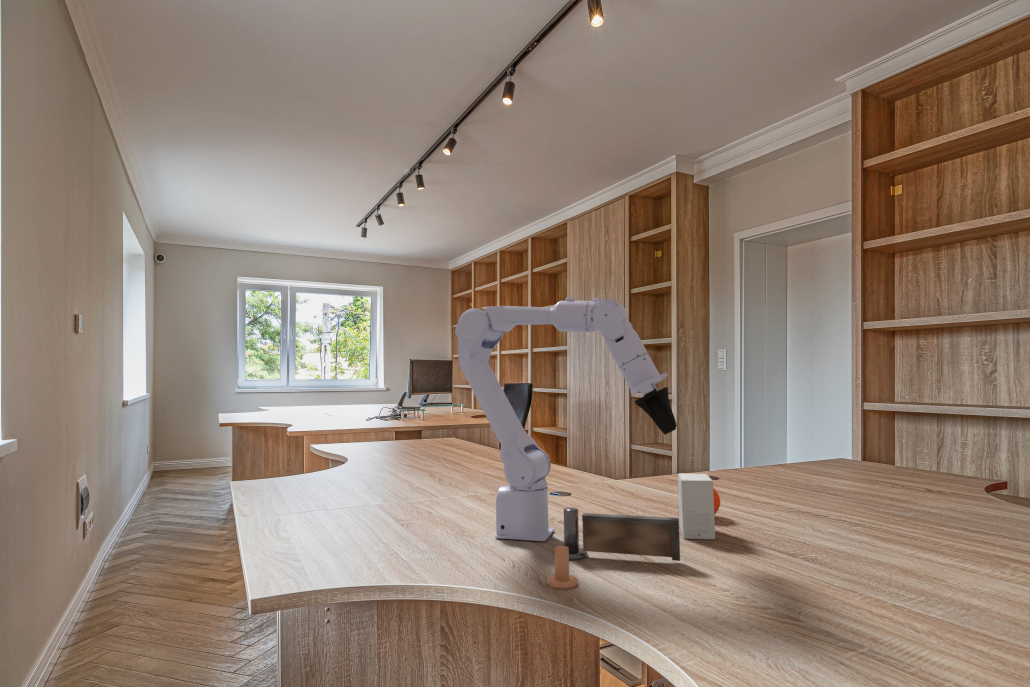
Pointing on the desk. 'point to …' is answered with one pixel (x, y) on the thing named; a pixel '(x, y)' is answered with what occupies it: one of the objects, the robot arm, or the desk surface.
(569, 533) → the gate post
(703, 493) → the small box
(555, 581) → the post
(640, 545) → the gate leaf
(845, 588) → the desk surface
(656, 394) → the robot arm
